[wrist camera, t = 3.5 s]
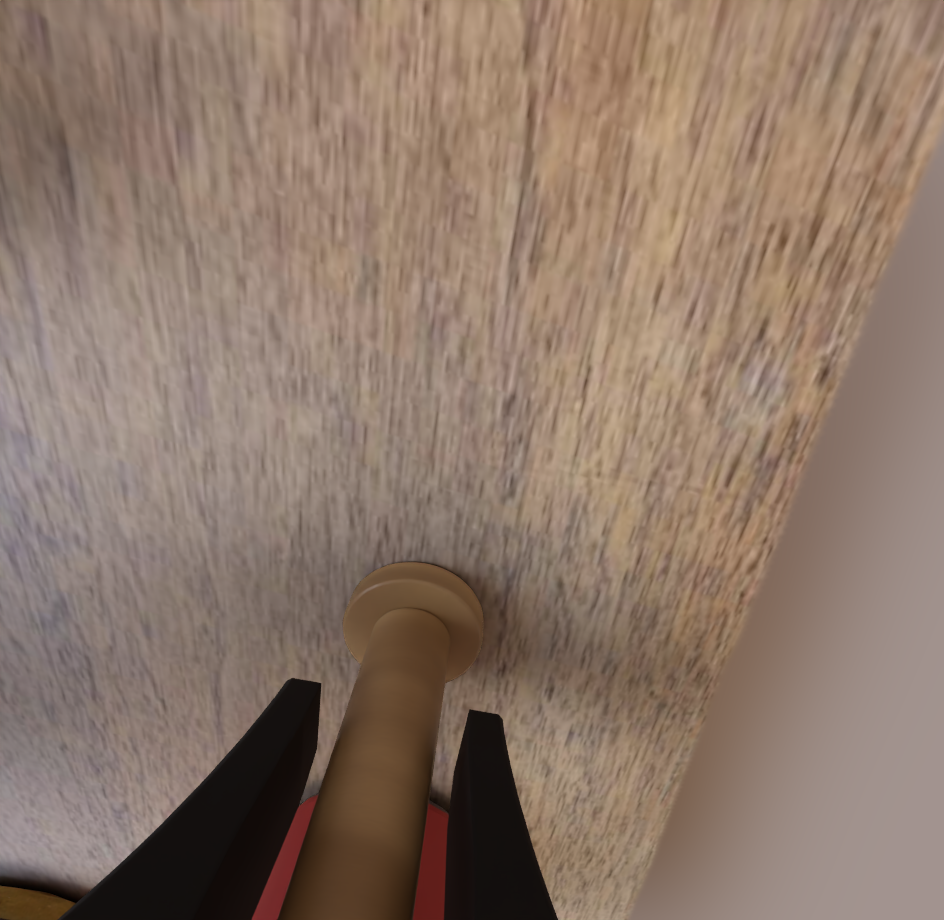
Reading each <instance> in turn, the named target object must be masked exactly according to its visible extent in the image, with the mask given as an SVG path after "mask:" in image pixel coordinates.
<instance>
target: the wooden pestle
mask: <svg viewBox="0 0 944 920" xmlns="http://www.w3.org/2000/svg"><path fill="white" fill-rule="evenodd" d="M343 633H344V639H345V642H346V645H347V647H348V649H349V651H350V652H351V654H352V655H353V657H354V658H355V659H356V660H357V661H358V663H359V664H360V665H361V667H360V670H359V673H358V676H357V679H356V682H355V685H354V688H353V691H352V694H351V697H350V700H349V703H348V706H347V709H346V712H345V715H344V718H343V721H342V724H341V727H340V730H339V733H338V736H337V739H336V743H335V746H334V749H333V752H332V755H331V758H330V761H329V764H328V767H327V770H326V773H325V776H324V779H323V782H322V785H321V788H320V791H319V794H318V797H317V800H316V803H315V806H314V809H313V812H312V815H311V818H310V821H309V824H308V828H307V831H306V834H305V837H304V840H303V843H302V846H301V849H300V852H299V855H298V858H297V861H296V864H295V867H294V870H293V873H292V876H291V879H290V882H289V885H288V888H287V891H286V894H285V897H284V900H283V903H282V906H281V910H280V913H279V916H278V919H277V920H413V915H414V908H415V901H416V893H417V886H418V878H419V871H420V864H421V856H422V849H423V842H424V834H425V827H426V820H427V812H428V805H429V798H430V790H431V783H432V775H433V768H434V761H435V753H436V746H437V739H438V731H439V724H440V717H441V709H442V702H443V694H444V687H445V683H447V682H449V681H452V680H454V679H455V678H457V677H459V676H461V675H462V674H463V673H465V672H466V671H467V670H468V669H469V668H470V667H471V666H472V664H473V663H474V662H475V660H476V659H477V657H478V655H479V653H480V650H481V646H482V639H483V612H482V608H481V605H480V602H479V601H478V599H477V597H476V595H475V594H474V592H473V591H472V590H471V588H470V587H469V586H468V585H467V584H466V583H465V582H464V581H463V580H461V579H460V578H459V577H458V576H456V575H454V574H453V573H451V572H449V571H447V570H445V569H443V568H440V567H437V566H435V565H431V564H426V563H419V562H401V563H395V564H390V565H387V566H384V567H381V568H379V569H377V570H375V571H373V572H372V573H370V574H369V575H368V576H366V577H365V578H364V579H363V580H362V581H361V582H360V583H359V584H358V586H357V587H356V589H355V590H354V592H353V594H352V597H351V599H350V601H349V604H348V606H347V609H346V611H345V614H344V618H343Z"/></svg>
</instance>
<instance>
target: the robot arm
mask: <svg viewBox="0 0 944 920" xmlns="http://www.w3.org/2000/svg"><path fill="white" fill-rule="evenodd" d="M320 696H321V683H317V682H312V681H306V680H300V679H295V678H291V679H290V680H288V681H286V683H285V684H284V685H283V687H282V688H281V690H280V691H279V692H278V694H277V695H276V696H275V698H274V699H273V700H272V701H271V703H270V704H269V705H268V707H267V708H266V709H265V710H264V712H263V713H262V714H261V715H260V717H259V718H258V719H257V720H256V722H255V723H254V724H253V725H252V726H251V728H250V729H249V730H248V731H247V732H246V733H245V735H244V736H243V737H242V738H241V739H240V741H239V742H238V743H237V744H236V745H235V746H234V747H233V749H232V750H231V751H230V752H229V753H228V754H227V755H226V756H225V757H224V759H223V760H222V761H221V762H220V763H219V764H218V765H217V766H216V768H215V769H214V770H213V771H212V772H211V773H210V774H209V775H208V777H207V778H206V779H205V780H204V781H203V782H202V783H201V784H200V785H199V786H198V787H197V788H196V789H195V790H194V791H193V792H192V793H191V794H190V795H189V796H188V797H187V798H186V800H185V801H184V802H183V803H182V804H181V805H180V806H179V807H178V808H177V809H176V810H175V811H174V812H173V813H172V814H171V815H170V816H169V817H168V818H167V819H166V820H165V821H164V822H163V823H162V824H161V825H160V826H159V827H158V828H157V829H156V830H155V831H154V832H153V833H152V834H151V835H150V836H149V837H148V838H147V839H146V840H145V841H144V842H143V843H142V844H141V845H140V846H139V847H138V848H136V849H135V850H134V851H133V852H132V853H131V854H130V855H129V856H128V857H127V858H126V859H125V860H124V861H123V862H122V863H120V864H119V865H118V866H117V867H116V868H115V869H114V870H113V871H112V872H111V873H110V874H109V875H107V876H106V877H105V878H104V879H103V880H102V881H101V882H100V883H99V884H98V885H96V886H95V887H94V888H93V889H92V890H91V891H90V892H88V893H87V894H86V895H85V896H84V897H83V898H82V899H80V900H79V901H78V902H77V903H76V904H75V905H74V906H72V907H71V908H70V909H69V910H68V911H67V912H65V913H64V914H63V915H62V916H61V917H60V918H59V919H57V920H252V917H253V915H254V913H255V910H256V908H257V905H258V903H259V901H260V898H261V896H262V893H263V891H264V889H265V886H266V884H267V881H268V879H269V877H270V874H271V872H272V869H273V867H274V865H275V862H276V860H277V857H278V855H279V853H280V850H281V848H282V845H283V843H284V841H285V838H286V836H287V833H288V831H289V828H290V826H291V824H292V821H293V819H294V816H295V814H296V811H297V809H298V807H299V804H300V801H301V798H302V795H303V792H304V789H305V786H306V782H307V779H308V776H309V773H310V770H311V766H312V763H313V760H314V757H315V753H316V750H317V741H318V726H319V711H320ZM444 920H558V918H557V916H556V913H555V910H554V907H553V905H552V902H551V899H550V896H549V894H548V891H547V888H546V885H545V882H544V879H543V876H542V873H541V870H540V867H539V864H538V861H537V858H536V855H535V852H534V849H533V846H532V842H531V839H530V836H529V832H528V829H527V825H526V822H525V819H524V815H523V812H522V808H521V805H520V801H519V797H518V794H517V790H516V786H515V782H514V777H513V773H512V769H511V765H510V760H509V755H508V750H507V745H506V740H505V734H504V727H503V719H502V718H501V717H500V716H499V715H498V714H493V713H487V712H481V711H476V710H470V709H469V713H468V717H467V721H466V726H465V730H464V734H463V738H462V742H461V746H460V750H459V754H458V758H457V762H456V766H455V770H454V776H453V784H452V792H451V800H450V809H449V817H448V826H447V845H446V872H445V900H444Z"/></svg>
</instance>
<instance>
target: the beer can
mask: <svg viewBox="0 0 944 920" xmlns="http://www.w3.org/2000/svg"><path fill="white" fill-rule="evenodd" d="M318 794H319V793H318ZM318 794H315V795H313V796H312V797H310V798H309V799H307V800H306V801H305V802H304V803H303V804H301V805H300V806H299V807H298V809H297V811H296V814H295V816H294V819H293V821H292V824H291V826H290V828H289V831H288V833H287V836H286V838H285V841H284V843H283V845H282V848H281V850H280V853H279V855H278V857H277V860H276V862H275V865H274V867H273V869H272V872H271V874H270V877H269V879H268V881H267V884H266V886H265V889H264V891H263V893H262V896H261V898H260V901H259V903H258V905H257V908H256V910H255V913H254V915H253V917H252V920H277V919H278V916H279V913H280V910H281V906H282V903H283V900H284V897H285V894H286V891H287V888H288V885H289V882H290V879H291V876H292V873H293V870H294V867H295V864H296V861H297V858H298V855H299V852H300V849H301V846H302V843H303V840H304V837H305V834H306V831H307V828H308V824H309V821H310V818H311V815H312V812H313V809H314V806H315V803H316V800H317V797H318ZM448 817H449V814H448V813H447V812H446V811H445V810H444V809H443V808H442V807H440V806H438V805H437V804H435V803H433V802H431V801H430V800H429V805H428V812H427V820H426V827H425V834H424V842H423V849H422V856H421V864H420V871H419V878H418V886H417V893H416V901H415V908H414V915H413V920H444V900H445V872H446V845H447V826H448Z"/></svg>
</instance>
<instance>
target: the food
mask: <svg viewBox="0 0 944 920" xmlns="http://www.w3.org/2000/svg"><path fill="white" fill-rule="evenodd" d="M75 904H76V903H74V902H71V901H69V900H66V899H63V898H61V897H58V896H56V895H53V894H50V893H46V892H40V891H34V890H27V889H21V888H13V887H5V886H0V920H57V919H59V918H60V917H61V916H62V915H63V914H64V913H65V912H67V911H68V910H69V909H70V908H71V907H72V906H74V905H75Z"/></svg>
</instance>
